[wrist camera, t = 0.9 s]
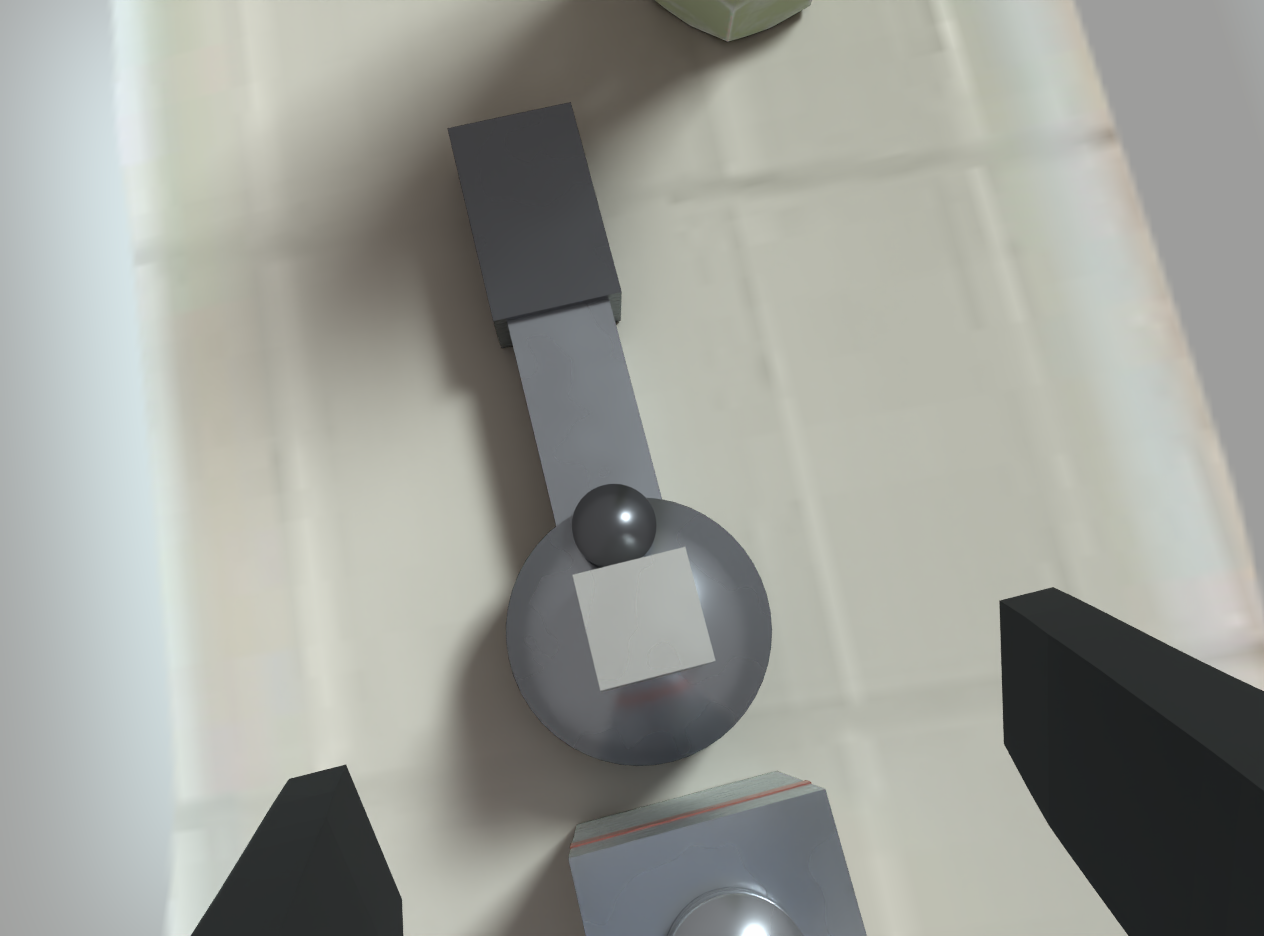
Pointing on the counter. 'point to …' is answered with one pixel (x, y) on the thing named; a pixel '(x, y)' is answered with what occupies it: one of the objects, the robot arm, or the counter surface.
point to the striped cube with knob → (718, 865)
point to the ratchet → (600, 479)
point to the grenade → (733, 15)
